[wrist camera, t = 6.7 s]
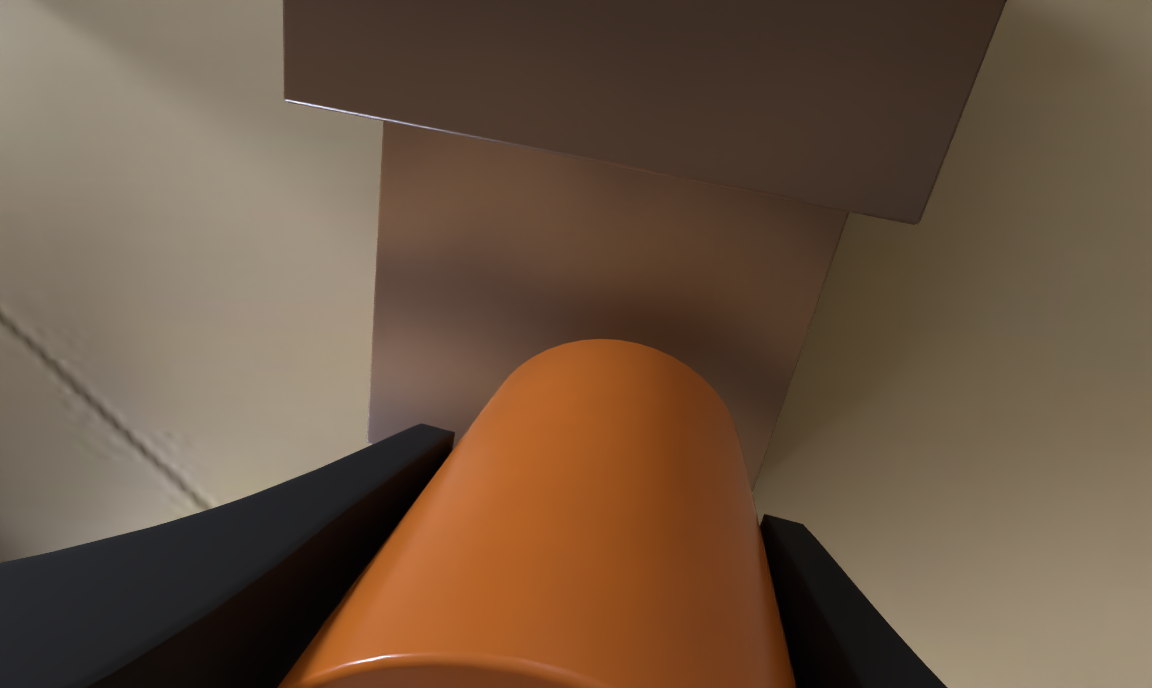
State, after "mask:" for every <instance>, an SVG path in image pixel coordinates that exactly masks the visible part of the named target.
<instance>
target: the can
mask: <svg viewBox="0 0 1152 688" xmlns="http://www.w3.org/2000/svg"><path fill="white" fill-rule="evenodd" d="M276 688H796V684H795V680H794V675H793V671H792V666H791V662H790V658H789V653H788V649H787V644H786V640H785V636H784V631H783V627H782V622H781V618H780V614H779V609H778V605H777V600H776V596H775V591H774V587H773V583H772V578H771V574H770V569H769V565H768V561H767V556H766V552H765V547H764V543H763V538H762V534H761V530H760V525H759V521H758V516H757V512H756V508H755V503H754V499H753V494H752V490H751V485H750V481H749V477H748V472H747V468H746V463H745V459H744V455H743V450H742V446H741V441H740V437H739V434H738V431H737V428H736V425H735V423H734V420H733V418H732V416H731V414H730V413H729V411H728V409H727V407H726V405H725V404H724V402H723V401H722V400H721V398H720V397H719V395H718V394H717V393H716V391H715V390H714V389H713V388H712V387H711V386H710V385H709V384H708V383H707V382H706V381H705V380H704V379H703V378H702V377H701V376H700V375H699V374H697V373H696V372H695V371H694V370H692V369H691V368H690V367H689V366H687V365H685V364H684V363H682V362H680V361H679V360H677V359H676V358H674V357H672V356H670V355H668V354H666V353H663V352H661V351H659V350H657V349H654V348H651V347H648V346H644V345H641V344H638V343H633V342H628V341H622V340H611V339H592V340H580V341H576V342H571V343H566V344H562V345H559V346H556V347H553V348H551V349H548V350H546V351H544V352H542V353H540V354H538V355H536V356H534V357H532V358H531V359H529V360H528V361H526V362H525V363H523V364H522V365H521V366H519V367H518V368H517V369H516V370H515V371H514V372H513V373H512V374H510V375H509V376H508V377H507V379H506V380H505V381H504V382H503V384H502V385H501V386H500V387H499V389H498V390H497V391H496V392H495V394H494V395H493V397H492V398H491V399H490V401H489V402H488V403H487V405H486V406H485V407H484V409H483V410H482V411H481V413H480V414H479V415H478V417H477V418H476V419H475V421H474V422H473V423H472V425H471V426H470V427H469V429H468V430H467V431H466V433H465V434H464V435H463V437H462V438H461V439H460V441H459V442H458V444H457V445H456V446H455V448H454V449H453V450H452V452H451V453H450V454H449V456H448V457H447V458H446V460H445V461H444V462H443V464H442V465H441V466H440V468H439V469H438V470H437V472H436V473H435V474H434V476H433V477H432V478H431V480H430V481H429V482H428V484H427V485H426V486H425V488H424V489H423V491H422V492H421V493H420V495H419V496H418V497H417V499H416V500H415V501H414V503H413V504H412V505H411V507H410V508H409V509H408V511H407V512H406V513H405V515H404V516H403V517H402V519H401V520H400V521H399V523H398V524H397V525H396V527H395V528H394V529H393V531H392V532H391V533H390V535H389V536H388V538H387V539H386V540H385V542H384V543H383V544H382V546H381V547H380V548H379V550H378V551H377V552H376V554H375V555H374V556H373V558H372V559H371V560H370V562H369V563H368V564H367V566H366V567H365V568H364V570H363V571H362V572H361V574H360V575H359V576H358V578H357V579H356V580H355V582H354V583H353V585H352V586H351V587H350V589H349V590H348V591H347V593H346V594H345V595H344V597H343V598H342V599H341V601H340V602H339V603H338V605H337V606H336V607H335V609H334V610H333V611H332V613H331V614H330V615H329V617H328V618H327V619H326V621H325V622H324V623H323V625H322V626H321V628H320V629H319V630H318V632H317V633H316V634H315V636H314V637H313V638H312V640H311V641H310V642H309V644H308V645H307V646H306V648H305V649H304V650H303V652H302V653H301V654H300V656H299V657H298V658H297V660H296V661H295V662H294V664H293V665H292V666H291V668H290V669H289V670H288V672H287V673H286V675H285V676H284V677H283V679H282V680H281V681H280V683H279V684H278V685H277V687H276Z"/></svg>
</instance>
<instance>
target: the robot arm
mask: <svg viewBox="0 0 1152 688" xmlns="http://www.w3.org/2000/svg"><path fill="white" fill-rule="evenodd" d="M454 437H455V432H453V431H449V430H445V429H441V428H438V427H434V426H430V425H426V424H423V423H421V424H418V425H415V426H413V427H410V428H408V429H406V430H404V431H401V432H399V433H397V434H395V435H392V436H390V437H388V438H386V439H384V440H381V441H379V442H377V443H375V444H373V445H371V446H368V447H366V448H364V449H362V450H360V451H357V452H355V453H353V454H351V455H348V456H346V457H344V458H342V459H339V460H337V461H335V462H333V463H330V464H328V465H326V466H324V467H321V468H319V469H316V470H314V471H311V472H309V473H306V474H304V475H301V476H299V477H296V478H294V479H291V480H289V481H286V482H283V483H281V484H278V485H276V486H273V487H271V488H268V489H266V490H263V491H261V492H258V493H256V494H253V495H250V496H247V497H245V498H242V499H239V500H236V501H233V502H230V503H227V504H224V505H221V506H219V507H216V508H213V509H209V510H206V511H203V512H200V513H196V514H193V515H190V516H187V517H183V518H180V519H177V520H174V521H170V522H167V523H164V524H160V525H157V526H153V527H150V528H146V529H142V530H138V531H134V532H130V533H126V534H122V535H118V536H114V537H110V538H106V539H102V540H98V541H94V542H90V543H86V544H82V545H78V546H74V547H70V548H66V549H62V550H58V551H54V552H49V553H45V554H40V555H36V556H31V557H26V558H21V559H17V560H12V561H7V562H2V563H0V688H276V687H277V685H278V684H279V683H280V681H281V680H282V679H283V677H284V676H285V675H286V673H287V672H288V670H289V669H290V668H291V666H292V665H293V664H294V662H295V661H296V660H297V658H298V657H299V656H300V654H301V653H302V652H303V650H304V649H305V648H306V646H307V645H308V644H309V642H310V641H311V640H312V638H313V637H314V636H315V634H316V633H317V632H318V630H319V629H320V628H321V626H322V625H323V623H324V622H325V621H326V619H327V618H328V617H329V615H330V614H331V613H332V611H333V610H334V609H335V607H336V606H337V605H338V603H339V602H340V601H341V599H342V598H343V597H344V595H345V594H346V593H347V591H348V590H349V589H350V587H351V586H352V585H353V583H354V582H355V580H356V579H357V578H358V576H359V575H360V574H361V572H362V571H363V570H364V568H365V567H366V566H367V564H368V563H369V562H370V560H371V559H372V558H373V556H374V555H375V554H376V552H377V551H378V550H379V548H380V547H381V546H382V544H383V543H384V542H385V540H386V539H387V538H388V536H389V535H390V533H391V532H392V531H393V529H394V528H395V527H396V525H397V524H398V523H399V521H400V520H401V519H402V517H403V516H404V515H405V513H406V512H407V511H408V509H409V508H410V507H411V505H412V504H413V503H414V501H415V500H416V499H417V497H418V496H419V495H420V493H421V492H422V491H423V489H424V488H425V486H426V485H427V484H428V482H429V481H430V480H431V478H432V477H433V476H434V474H435V473H436V472H437V470H438V469H439V468H440V466H441V465H442V464H443V462H444V461H445V460H446V458H447V457H448V456H449V454H450V453H451V452H452V450H453V444H454ZM760 530H761V534H762V538H763V543H764V547H765V552H766V556H767V561H768V565H769V569H770V574H771V578H772V583H773V587H774V591H775V596H776V600H777V605H778V609H779V614H780V618H781V622H782V627H783V631H784V636H785V640H786V644H787V649H788V653H789V658H790V662H791V666H792V671H793V675H794V680H795V684H796V688H947V687H946V686H945V685H944V684H943V683H942V682H941V681H940V679H939V678H938V677H937V676H936V675H935V674H934V673H933V672H932V671H931V670H930V669H929V668H928V667H927V666H926V665H925V664H924V663H923V661H922V660H921V659H920V658H919V657H918V656H917V655H916V654H915V653H914V652H913V650H912V649H911V648H910V647H909V646H908V645H907V644H906V643H905V642H904V640H903V639H902V638H901V637H900V636H899V635H898V634H897V633H896V631H895V630H894V629H893V628H892V627H891V626H890V625H889V624H888V622H887V621H886V620H885V619H884V618H883V617H882V615H881V614H880V613H879V612H878V611H877V610H876V609H875V607H874V606H873V605H872V604H871V603H870V602H869V600H868V599H867V598H866V597H865V596H864V595H863V593H862V592H861V591H860V590H859V589H858V587H857V586H856V585H855V584H854V583H853V581H852V580H851V579H850V578H849V577H848V576H847V574H846V573H845V572H844V571H843V570H842V568H841V567H840V566H839V565H838V564H837V562H836V561H835V560H834V559H833V558H832V557H831V555H830V554H829V553H828V552H827V551H826V549H825V548H824V547H823V546H822V545H821V544H820V542H819V541H818V540H817V539H816V538H815V537H814V536H813V535H812V533H811V532H810V531H809V530H808V529H807V528H806V527H805V526H804V525H803V524H800V523H797V522H793V521H789V520H785V519H781V518H778V517H774V516H770V515H766V514H764V516H763V519H762V522H761V524H760Z"/></svg>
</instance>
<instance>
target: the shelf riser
mask: <svg viewBox="0 0 1152 688" xmlns="http://www.w3.org/2000/svg"><path fill="white" fill-rule="evenodd" d="M1006 1H1007V0H283V41H284V99H285V100H286V101H287V102H290V103H295V104H300V105H305V106H310V107H315V108H320V109H326V110H331V111H336V112H341V113H346V114H351V115H356V116H361V117H366V118H372V119H377V120H382V121H384V124H383V143H382V162H381V182H380V201H379V220H378V239H377V258H376V278H375V297H374V316H373V335H372V354H371V374H370V393H369V412H368V431H367V443H370V444H375V443H377V442H379V441H381V440H384V439H386V438H388V437H390V436H392V435H395V434H397V433H399V432H401V431H404V430H406V429H408V428H410V427H413V426H415V425H418V424H421V423H423V424H426V425H430V426H434V427H438V428H441V429H445V430H449V431H453V432H455V437H454V444H453V449H454V448H455V446H456V445H457V444H458V442H459V441H460V439H461V438H462V437H463V435H464V434H465V433H466V431H467V430H468V429H469V427H470V426H471V425H472V423H473V422H474V421H475V419H476V418H477V417H478V415H479V414H480V413H481V411H482V410H483V409H484V407H485V406H486V405H487V403H488V402H489V401H490V399H491V398H492V397H493V395H494V394H495V392H496V391H497V390H498V389H499V387H500V386H501V385H502V384H503V382H504V381H505V380H506V379H507V377H508V376H509V375H510V374H512V373H513V372H514V371H515V370H516V369H517V368H518V367H519V366H521V365H522V364H523V363H525V362H526V361H528V360H529V359H531V358H532V357H534V356H536V355H538V354H540V353H542V352H544V351H546V350H548V349H551V348H553V347H556V346H559V345H562V344H566V343H571V342H576V341H580V340H592V339H611V340H622V341H628V342H633V343H638V344H641V345H644V346H648V347H651V348H654V349H657V350H659V351H661V352H663V353H666V354H668V355H670V356H672V357H674V358H676V359H677V360H679V361H680V362H682V363H684V364H685V365H687V366H689V367H690V368H691V369H692V370H694V371H695V372H696V373H697V374H699V375H700V376H701V377H702V378H703V379H704V380H705V381H706V382H707V383H708V384H709V385H710V386H711V387H712V388H713V389H714V390H715V391H716V393H717V394H718V395H719V397H720V398H721V400H722V401H723V402H724V404H725V405H726V407H727V409H728V411H729V413H730V414H731V416H732V418H733V420H734V423H735V425H736V428H737V431H738V434H739V437H740V441H741V446H742V450H743V455H744V459H745V463H746V468H747V472H748V477H749V481H750V485H751V490H752V491H753V488H754V485H755V482H756V480H757V477H758V474H759V471H760V468H761V465H762V462H763V459H764V456H765V454H766V451H767V448H768V445H769V442H770V439H771V436H772V433H773V430H774V427H775V425H776V422H777V419H778V416H779V413H780V410H781V407H782V404H783V401H784V399H785V396H786V393H787V390H788V387H789V384H790V381H791V378H792V375H793V373H794V370H795V367H796V364H797V361H798V358H799V355H800V352H801V349H802V346H803V344H804V341H805V338H806V335H807V332H808V329H809V326H810V323H811V320H812V318H813V315H814V312H815V309H816V306H817V303H818V300H819V297H820V294H821V291H822V289H823V286H824V283H825V280H826V277H827V274H828V271H829V268H830V265H831V263H832V260H833V257H834V254H835V251H836V248H837V245H838V242H839V239H840V236H841V234H842V231H843V228H844V225H845V222H846V219H847V216H848V213H849V212H852V213H857V214H862V215H867V216H872V217H877V218H883V219H888V220H893V221H898V222H903V223H908V224H913V225H915V224H918V223H919V222H920V220H921V218H922V215H923V213H924V210H925V207H926V205H927V202H928V200H929V197H930V195H931V192H932V190H933V187H934V184H935V182H936V179H937V177H938V174H939V172H940V169H941V167H942V164H943V162H944V159H945V156H946V154H947V151H948V149H949V146H950V144H951V141H952V139H953V136H954V133H955V131H956V128H957V126H958V123H959V121H960V118H961V116H962V113H963V111H964V108H965V105H966V103H967V100H968V98H969V95H970V93H971V90H972V88H973V85H974V83H975V80H976V77H977V75H978V72H979V70H980V67H981V65H982V62H983V60H984V57H985V54H986V52H987V49H988V47H989V44H990V42H991V39H992V37H993V34H994V32H995V29H996V26H997V24H998V21H999V19H1000V16H1001V14H1002V11H1003V9H1004V6H1005V3H1006Z"/></svg>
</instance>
